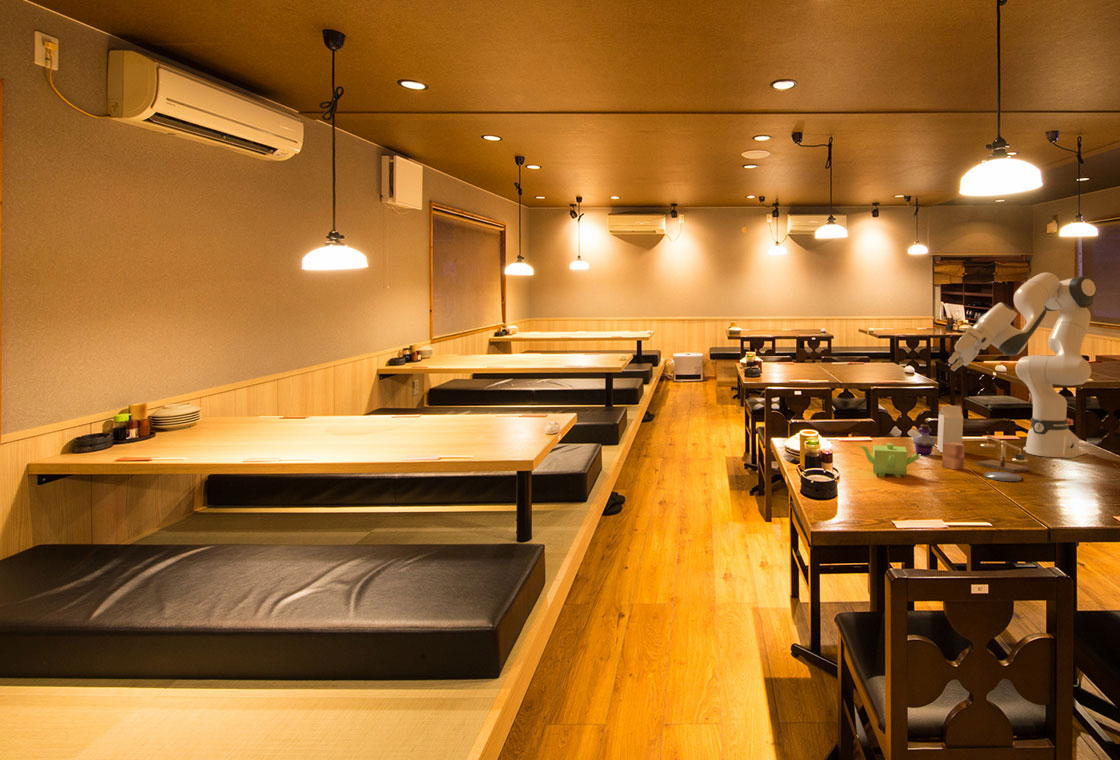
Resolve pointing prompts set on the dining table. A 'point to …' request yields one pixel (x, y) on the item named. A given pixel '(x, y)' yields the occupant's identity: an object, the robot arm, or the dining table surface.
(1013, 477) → the gray dish
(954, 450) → the terracotta block
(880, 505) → the dining table surface
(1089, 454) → the dining table surface
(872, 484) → the dining table surface
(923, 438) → the potion bottle
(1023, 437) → the dining table surface
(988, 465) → the brass balance
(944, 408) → the milk carton
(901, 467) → the kettle
